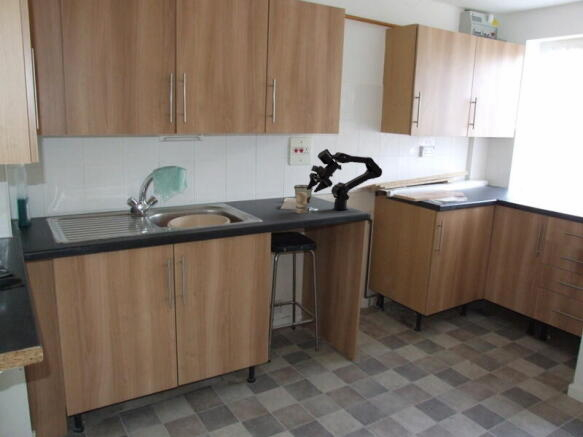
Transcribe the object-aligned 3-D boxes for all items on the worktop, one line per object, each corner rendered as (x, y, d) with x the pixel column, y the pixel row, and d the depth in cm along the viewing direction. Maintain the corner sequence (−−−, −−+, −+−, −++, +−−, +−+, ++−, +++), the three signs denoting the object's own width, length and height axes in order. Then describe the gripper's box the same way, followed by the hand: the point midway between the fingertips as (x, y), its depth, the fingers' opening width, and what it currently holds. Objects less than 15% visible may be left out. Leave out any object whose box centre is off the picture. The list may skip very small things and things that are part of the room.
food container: (315, 201, 299) (316, 185, 297) (312, 203, 293) (312, 186, 291) (297, 199, 304) (297, 183, 302) (293, 201, 298) (293, 185, 296)
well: (303, 205, 285) (303, 198, 284) (301, 209, 273) (301, 202, 272) (283, 205, 286) (283, 197, 285) (280, 209, 274) (280, 201, 273)
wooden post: (302, 211, 270) (303, 191, 267) (306, 213, 265) (307, 193, 263) (295, 211, 268) (295, 192, 265) (298, 213, 264) (299, 193, 261)
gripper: (312, 158, 273) (294, 178, 271) (328, 162, 256) (309, 183, 254) (324, 171, 278) (306, 191, 276) (340, 176, 261) (321, 197, 259)
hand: (310, 190), depth 266 cm, fingers open, 9 cm apart
